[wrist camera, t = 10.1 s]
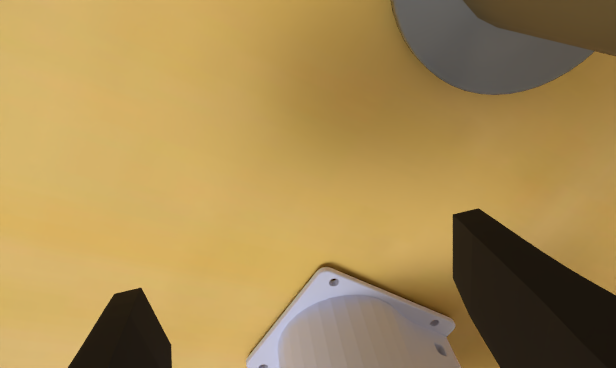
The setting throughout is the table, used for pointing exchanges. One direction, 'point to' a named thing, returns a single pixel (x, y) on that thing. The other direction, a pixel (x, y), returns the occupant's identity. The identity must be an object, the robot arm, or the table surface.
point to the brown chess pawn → (555, 20)
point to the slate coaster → (479, 49)
